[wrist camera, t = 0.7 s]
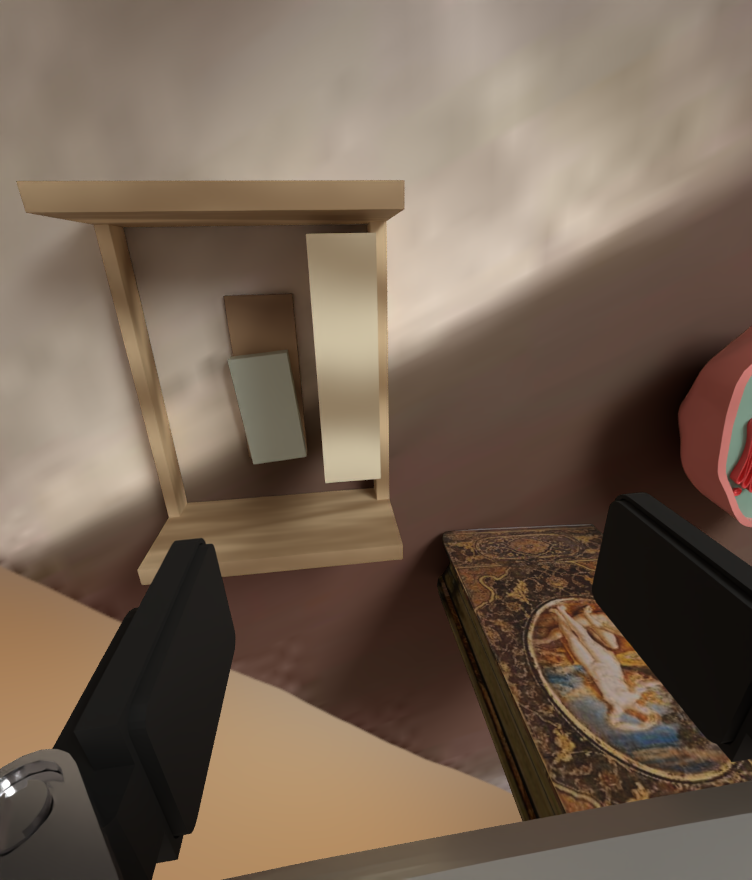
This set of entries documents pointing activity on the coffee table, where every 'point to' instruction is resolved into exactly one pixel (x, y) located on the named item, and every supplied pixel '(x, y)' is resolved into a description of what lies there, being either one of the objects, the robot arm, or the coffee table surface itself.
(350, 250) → the birch sheet
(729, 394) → the cell model
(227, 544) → the pine rack
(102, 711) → the robot arm
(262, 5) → the coffee table surface
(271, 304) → the offcut slab bottom
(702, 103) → the coffee table surface
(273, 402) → the offcut slab top
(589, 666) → the book
